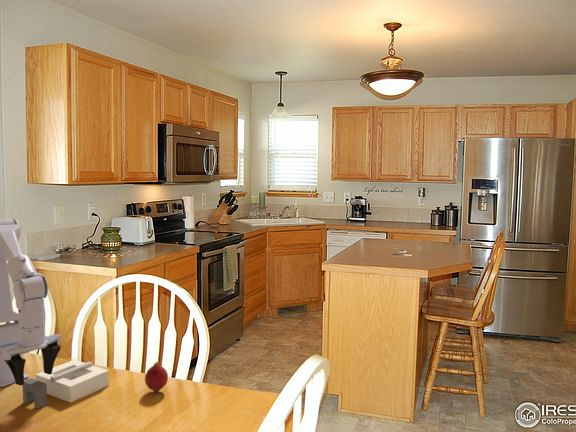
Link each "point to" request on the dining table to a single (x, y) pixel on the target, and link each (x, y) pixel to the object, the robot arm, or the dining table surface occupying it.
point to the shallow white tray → (74, 380)
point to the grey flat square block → (35, 392)
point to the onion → (156, 377)
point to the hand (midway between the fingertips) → (34, 378)
